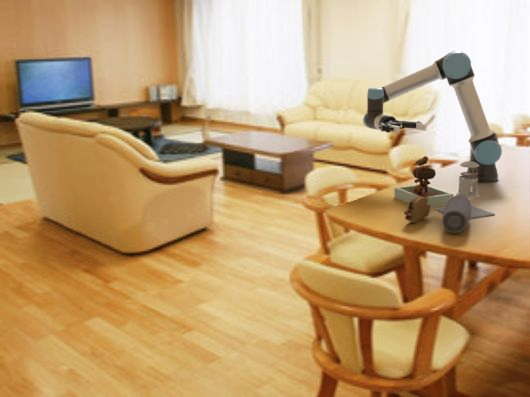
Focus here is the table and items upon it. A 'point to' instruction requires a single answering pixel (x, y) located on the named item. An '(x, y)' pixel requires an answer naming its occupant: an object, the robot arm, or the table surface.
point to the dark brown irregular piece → (423, 174)
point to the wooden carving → (417, 209)
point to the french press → (468, 179)
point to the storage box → (434, 201)
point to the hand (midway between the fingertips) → (412, 128)
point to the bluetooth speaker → (457, 214)
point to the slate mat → (473, 212)
